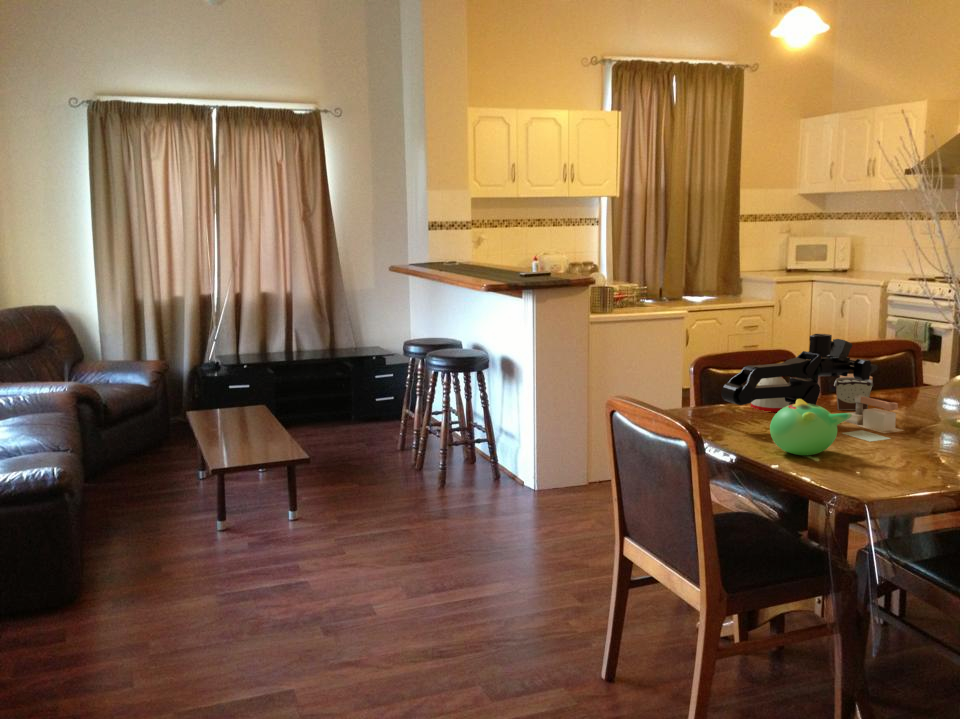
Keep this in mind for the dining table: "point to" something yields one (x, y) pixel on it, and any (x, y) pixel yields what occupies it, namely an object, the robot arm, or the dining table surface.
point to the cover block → (879, 419)
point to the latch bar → (876, 402)
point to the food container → (851, 392)
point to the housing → (858, 419)
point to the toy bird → (805, 428)
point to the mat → (866, 435)
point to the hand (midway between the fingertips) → (866, 364)
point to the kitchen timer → (772, 403)
